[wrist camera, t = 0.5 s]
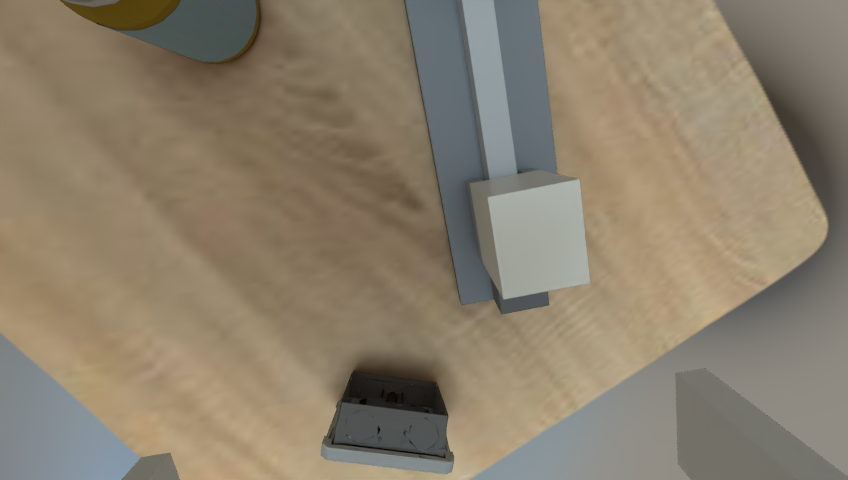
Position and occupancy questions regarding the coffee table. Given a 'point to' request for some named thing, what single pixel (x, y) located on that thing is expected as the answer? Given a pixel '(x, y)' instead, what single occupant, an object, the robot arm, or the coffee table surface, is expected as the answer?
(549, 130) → the rail bench
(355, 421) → the electrical switch
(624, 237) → the coffee table surface
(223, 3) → the bottle
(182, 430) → the coffee table surface
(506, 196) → the carriage
